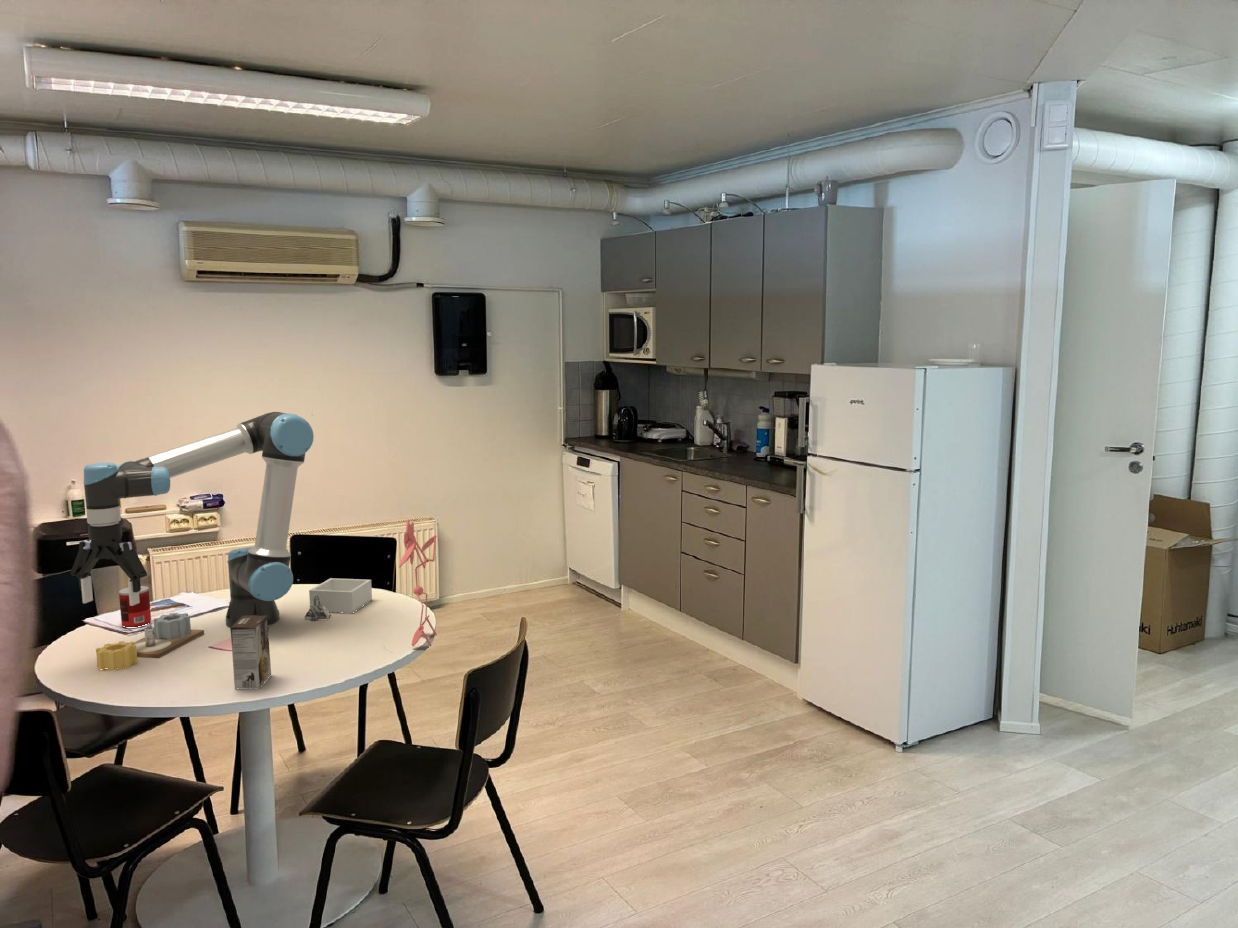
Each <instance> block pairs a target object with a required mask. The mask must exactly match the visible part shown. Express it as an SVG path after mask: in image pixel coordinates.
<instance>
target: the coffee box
mask: <svg viewBox="0 0 1238 928" xmlns="http://www.w3.org/2000/svg"><path fill="white" fill-rule="evenodd" d="M269 637H270V636H269V625H268V621H267V615H266V616H257V615H250V616H242V617H241V618H240V619H239V620H238V621H237V622H236V623H235V624H234V625H233V626H231V628H230V639H231V640H230V641H231V654H232V667H233V683H234V686H233V687H234V690H238V689H237V688H248V689H247V690H250V689H249V688H260V689H261V688H262V687H263V686H264V685H265V684H264V682H265V681H266V680H267V679H268V680H269V678H270V677H271V676H272V668H271V667H272V666H271V665H272V664H271V654H270V653H271V652H270V650H271V649H270V639H269ZM270 675H271V676H270ZM269 676H270V677H269ZM268 677H269V678H268ZM268 680H267V681H268ZM267 681H266V682H267ZM266 682H265V683H266ZM263 684H264V685H263ZM261 686H262V687H261Z"/></svg>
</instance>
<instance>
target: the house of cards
mask: <svg viewBox="0 0 1238 928" xmlns="http://www.w3.org/2000/svg"><path fill="white" fill-rule="evenodd" d="M316 597H317V599H316ZM320 600H321V599H320V598H319V596H318V595H316V596H315V598H314V600H313V601H314V605H312V606H311V607H310V606H309V609H308V610H307V612H306V614H305V616H304V620H310V619H311V621H312V620H313V619H316V620H317V621H318V619H327V620H329V619H330V618H331V617H332V613H329V611H328V609H326V608H325V606H324V605H320ZM316 601H318V605H316ZM314 606H316V608H315V607H314ZM319 606H322V607H321V608H320V607H319ZM311 608H313V609H311ZM317 608H318V610H317ZM322 608H323V609H322ZM318 611H319V612H318ZM330 616H331V617H330ZM328 618H329V619H328ZM316 620H315V621H316ZM313 621H314V620H313Z"/></svg>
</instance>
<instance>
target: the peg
mask: <svg viewBox="0 0 1238 928" xmlns="http://www.w3.org/2000/svg"><path fill="white" fill-rule="evenodd" d="M144 637H145V643H146V647H153V646H155V645H156V644H155V630H154V627H153V626H152V623H150V624H147V626H146V627H145V628H144Z"/></svg>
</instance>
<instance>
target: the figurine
mask: <svg viewBox="0 0 1238 928" xmlns="http://www.w3.org/2000/svg"><path fill="white" fill-rule="evenodd" d="M405 524H406V526H405V531H404V533H403V544H404V547H405V549H406V550H405V552H404V554H403V555H402V557H401V559H400V562H399V565H398V568H401V567H402V566H404V564H405V563H406V562H408V561H409V562H410V565H411V566H413V564H414V559H415V552H416V554H417V557H418V559H419V562H420V564H419V565H417V566H415V568H414V574H415V587H414V589H413V593H414V595H415V596H417V598H418V601H419V602H420V604H421V615H420V622H419V626H418V628H417V629H416V631H415V632H414V635H413V637H412V640H411V644H410V645H412V646H413V647H414V646H415V645H416V644H417V643H418V642H419V640H420V639H421V638H422V635H423V637H424V638H425V641H426V642H427V644H428V645H429V643H430V645H429V647H432V645H433V644H432V643H431V642H430V640H429V638H428V636H427V634H426V632H425V631H424V629H425V628H424V627H425V626H424V625H425V623H426V622H427V623H428V625H429V627H430V629H431V631H432V632H433V634H434V635H435V636H437V635H438V634H437V631H436V630H435V629H434V627H433V625H432V624H431V622H430V619H429V617H430V615H429V614H428V615H427V613H428V612H427V611H428V593H426V592H424V588H423V587H422V586H420V585H418V568H421V567H422V568H423V569H426V566H427V565H426V564H427V563H429V562H431V563H433V562H435V558H436V543H437V535H436V534H435V535H433V536H432V537H430V538H429V539H428V540H427V541H426V542H425V543H424V544H423V545H422V547H421V546H420V545H419V543H418V541H417V538H416V536H415V526H414V521H411V522H410V520H409V519H407V520H406V523H405ZM432 545H433V550H432V559H429V558H427V556H426V554H425V553H424V551H426V550H427V549H428V548H429V547H430V546H432ZM419 551H420V552H419ZM420 553H421V554H420ZM421 555H422V557H423V558H424V561H423V559H422V557H421ZM423 594H424V595H425V605H424V603H423V602H422V600H421V597H420V596H422V595H423ZM424 607H425V617H424V620H423V615H424V614H423V613H424ZM437 628H439V629H443V627H441V626H440V627H439V626H437Z"/></svg>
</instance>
